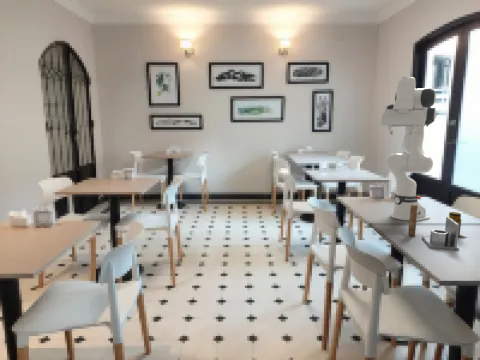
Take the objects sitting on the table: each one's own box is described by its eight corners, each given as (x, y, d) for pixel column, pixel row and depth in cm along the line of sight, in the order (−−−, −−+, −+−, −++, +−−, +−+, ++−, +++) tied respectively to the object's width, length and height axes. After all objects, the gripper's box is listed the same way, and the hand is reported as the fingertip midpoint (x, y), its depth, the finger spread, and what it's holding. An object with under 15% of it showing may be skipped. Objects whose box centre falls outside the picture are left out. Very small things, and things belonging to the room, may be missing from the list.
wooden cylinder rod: (411, 234, 186) (414, 204, 183) (416, 236, 183) (419, 205, 180) (406, 235, 185) (409, 204, 182) (411, 236, 182) (414, 206, 179)
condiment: (442, 233, 188) (444, 211, 186) (458, 233, 188) (461, 211, 186) (450, 237, 181) (452, 214, 179) (467, 238, 181) (469, 215, 179)
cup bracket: (430, 248, 166) (432, 223, 164) (422, 238, 179) (424, 215, 177) (458, 250, 163) (461, 225, 161) (448, 240, 177) (450, 217, 175)
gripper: (427, 109, 177) (424, 136, 176) (384, 110, 188) (381, 136, 187) (426, 105, 172) (423, 133, 170) (381, 106, 183) (378, 132, 182)
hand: (401, 134), depth 179 cm, fingers open, 8 cm apart
